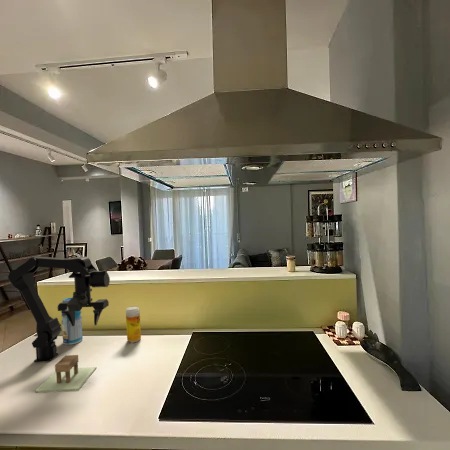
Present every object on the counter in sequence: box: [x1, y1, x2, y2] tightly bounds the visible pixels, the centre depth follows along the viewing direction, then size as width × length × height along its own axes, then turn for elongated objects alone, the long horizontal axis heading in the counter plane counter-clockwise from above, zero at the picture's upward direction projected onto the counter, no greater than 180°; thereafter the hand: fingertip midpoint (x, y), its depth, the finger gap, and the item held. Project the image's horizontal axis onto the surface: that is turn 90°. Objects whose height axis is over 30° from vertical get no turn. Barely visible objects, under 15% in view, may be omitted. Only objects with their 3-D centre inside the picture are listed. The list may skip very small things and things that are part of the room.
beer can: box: [125, 306, 142, 344], centre depth 137 cm, size 6×6×15 cm
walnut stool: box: [54, 354, 79, 384], centre depth 105 cm, size 7×4×6 cm, turn 1°
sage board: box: [35, 366, 97, 393], centre depth 105 cm, size 14×14×1 cm
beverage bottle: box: [60, 296, 84, 346], centre depth 138 cm, size 8×8×20 cm
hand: (84, 325), depth 122 cm, fingers open, 9 cm apart
